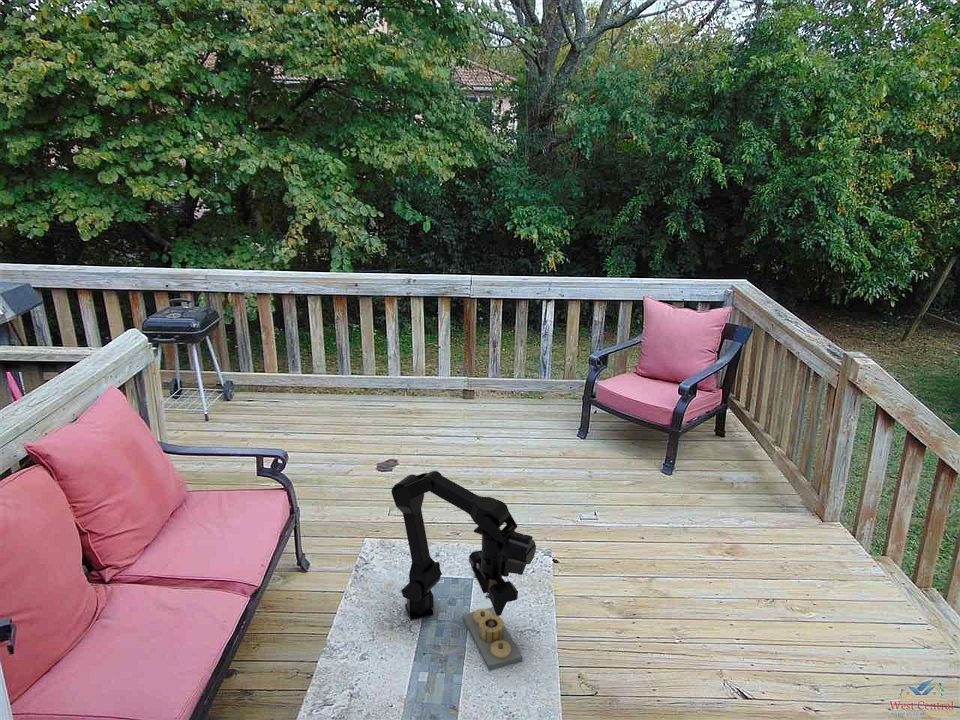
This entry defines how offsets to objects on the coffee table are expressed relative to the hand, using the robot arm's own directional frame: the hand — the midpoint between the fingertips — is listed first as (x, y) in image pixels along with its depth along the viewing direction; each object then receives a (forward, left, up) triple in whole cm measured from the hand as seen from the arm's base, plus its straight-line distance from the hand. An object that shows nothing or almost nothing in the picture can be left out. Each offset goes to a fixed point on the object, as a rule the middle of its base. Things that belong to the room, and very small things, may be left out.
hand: (491, 603), depth 165 cm
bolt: (+8, +23, -11) cm, 27 cm away
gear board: (0, 0, -11) cm, 11 cm away
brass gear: (0, 0, -9) cm, 9 cm away
